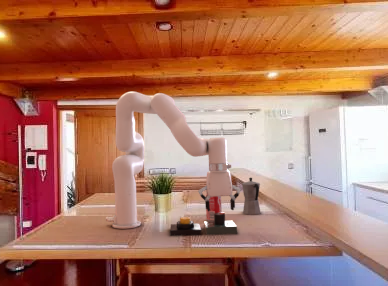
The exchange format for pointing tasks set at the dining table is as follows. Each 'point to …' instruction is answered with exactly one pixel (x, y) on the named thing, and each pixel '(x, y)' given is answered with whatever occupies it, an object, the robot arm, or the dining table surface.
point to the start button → (184, 220)
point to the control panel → (220, 228)
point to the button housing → (185, 229)
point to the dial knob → (219, 218)
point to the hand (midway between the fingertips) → (220, 210)
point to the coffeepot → (251, 197)
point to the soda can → (214, 207)
